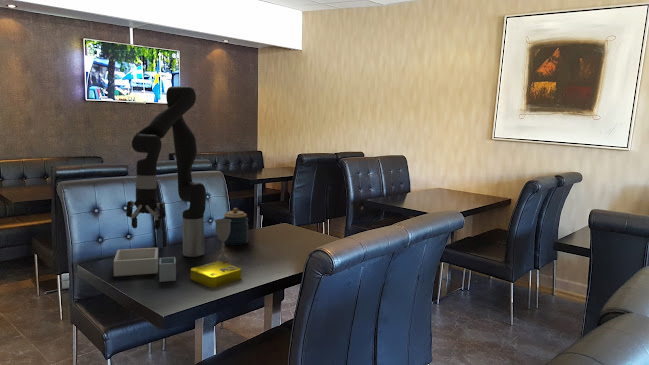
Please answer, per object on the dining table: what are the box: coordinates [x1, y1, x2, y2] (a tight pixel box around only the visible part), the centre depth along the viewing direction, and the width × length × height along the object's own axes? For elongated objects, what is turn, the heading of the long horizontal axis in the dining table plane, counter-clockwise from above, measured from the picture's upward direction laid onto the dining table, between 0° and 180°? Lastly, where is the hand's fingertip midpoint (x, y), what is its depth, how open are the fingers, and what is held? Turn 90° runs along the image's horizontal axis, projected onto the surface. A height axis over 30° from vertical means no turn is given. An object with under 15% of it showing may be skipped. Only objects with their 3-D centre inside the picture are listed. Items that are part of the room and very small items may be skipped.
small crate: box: [158, 256, 177, 283], centre depth 182 cm, size 6×8×7 cm
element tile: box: [190, 260, 242, 288], centre depth 184 cm, size 15×15×5 cm
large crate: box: [112, 247, 159, 277], centre depth 192 cm, size 16×16×6 cm
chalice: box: [214, 218, 231, 263], centre depth 205 cm, size 7×7×18 cm
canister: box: [222, 207, 249, 246], centre depth 234 cm, size 13×13×18 cm
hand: (145, 228), depth 180 cm, fingers open, 8 cm apart
